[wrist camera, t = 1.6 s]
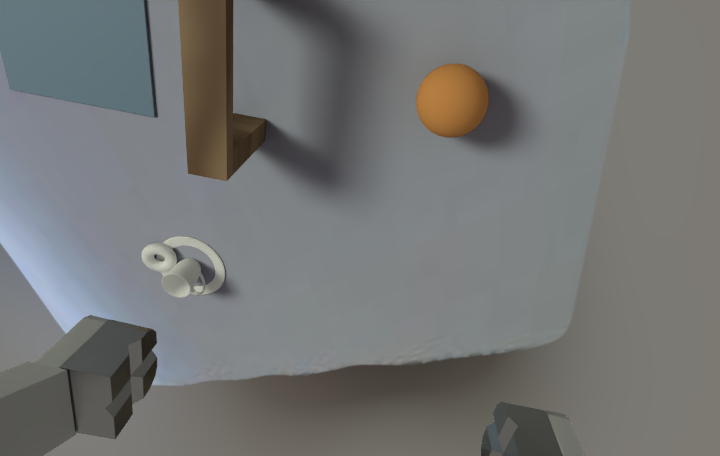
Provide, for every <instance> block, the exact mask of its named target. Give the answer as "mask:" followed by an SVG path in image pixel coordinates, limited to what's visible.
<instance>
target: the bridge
mask: <svg viewBox="0 0 720 456" xmlns="http://www.w3.org/2000/svg"><path fill="white" fill-rule="evenodd" d="M178 3H179V21H180V39H181V57H182V75H183V93H184V110H185V128H186V146H187V164H188V174H194V175H199V176H204V177H209V178H214V179H219V180H224V181H227V180H228V179H229V178H230V177H231V176H232V175H233V174H234V173H235V172H236V171H237V170H238V169H239V168H240V167H241V165H242V164H243V163H244V162H245V161H246V160H247V159H248V158H249V157H250V156H251V155H252V154H253V153H254V152H255V151H256V150H257V148H258V147H259V146H260V145H261V144H262V143H263V142H264V141H265V132H266V119H261V118H256V117H251V116H246V115H241V114H235V113H233V0H178Z"/></svg>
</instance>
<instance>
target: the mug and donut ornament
mask: <svg viewBox="0 0 720 456" xmlns="http://www.w3.org/2000/svg"><path fill="white" fill-rule="evenodd" d="M181 245H187V246H192V247H195V248H198V249H200V250H201V251H203V252H204V253H206V254H207V255H208V256H209V257H210V259H211V260H212V262H213V264H214V266H215V277H214V279H213V280H212V281H211V282H210V283H209V284H207V285H206V284H205V280H204V277H203V275H202V273H201V266H200V264H199V262H198V261H196V260H195V259H192V258H186V259H183V260H181V261H180V262H178V263H177V256H176V254H175V252H174V251H173V250H172V249H173V248H175V247H177V246H181ZM155 254H157V259H156V258H155V257H154V255H155ZM142 260H143V262H144V263H145V265H146V266H148V267H149V268H150V269H152V270H155V271H159V272H161V273H162V275H163V276H164V277H163V279H162V286H163V288H164V289H165V290H166V292H168V293H169V294H170V295H172V296H175V297H186V296H187V295H188V294H189V293H190V294H193V295H197V296H198V295H206V294H210V293H213V292H215V291H216V290H218V289H219V288H220V287H221V286H222V284H223V282H224V280H225V268H224V265H223V262H222V260H221V259H220V257H219V256H218V254H217V253H216V252H215V251H214V250H213V249H212V248H211V247H209V246H208V245H206V244H205V243H203V242H201V241H199V240H197V239H194V238H190V237H173V238H170V239H168V240H166V241H164V242H163V243H162V244H161V243H154V244H150V245H148V246H147V247H145V248H144V249H143V251H142ZM176 263H177V264H176ZM199 277H200V278H201V280H202V283H203V286H194V285H195V284H196V282H197V280H198V278H199Z"/></svg>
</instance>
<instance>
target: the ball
mask: <svg viewBox="0 0 720 456" xmlns="http://www.w3.org/2000/svg"><path fill="white" fill-rule="evenodd" d="M488 103H489V94H488V89H487V86H486V83H485V81H484V80H483V78H482V77H481V76H480V75H479V73H478V72H476V71H475V70H474V69H472V68H470V67H468V66H466V65H462V64H447V65H443V66H441V67H438V68H437V69H435V70H433V71H432V72H431V73H429V74H428V75H427V76H426V78H425V79H424V80H423V82H422V83H421V85H420V88H419V90H418V93H417V99H416V106H417V112H418V115H419V118H420V120H421V121H422V123H423V124H424V125H425V127H426V128H427V129H428V130H430V131H431V132H433V133H434V134H437V135H439V136H443V137H458V136H462V135H465V134H467V133H469V132H470V131H472V130H473V129H475V128H476V127H477V126H478V125H479V124H480V122H481V121H482V120H483V118H484V116H485V114H486V111H487V108H488Z"/></svg>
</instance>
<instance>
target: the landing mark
mask: <svg viewBox="0 0 720 456" xmlns="http://www.w3.org/2000/svg"><path fill="white" fill-rule="evenodd" d="M0 51H1V55H2V59H3V63H4V67H5V70H6V74H7V78H8V82H9V86H10V89H11V90H16V91H22V92H27V93H32V94H37V95H42V96H47V97H53V98H58V99H63V100H68V101H73V102H79V103H84V104H89V105H94V106H99V107H104V108H110V109H115V110H120V111H125V112H130V113H135V114H141V115H146V116H151V117H156V116H155V105H154V94H153V83H152V72H151V61H150V50H149V39H148V28H147V17H146V6H145V0H0Z"/></svg>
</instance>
